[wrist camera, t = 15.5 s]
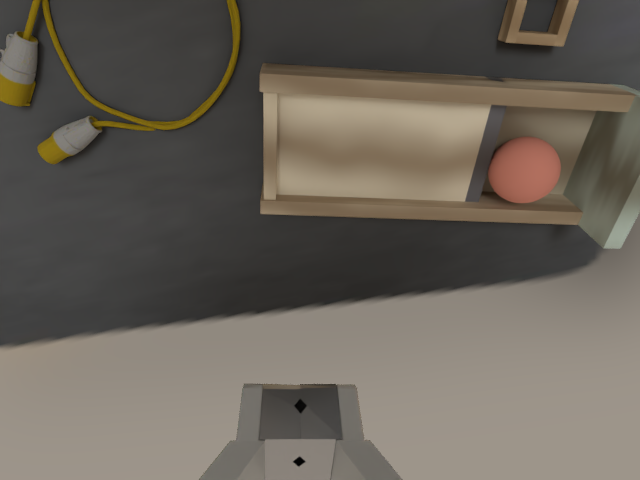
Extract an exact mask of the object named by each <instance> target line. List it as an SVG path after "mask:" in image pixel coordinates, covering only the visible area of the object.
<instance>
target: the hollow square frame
mask: <svg viewBox="0 0 640 480" xmlns="http://www.w3.org/2000/svg"><path fill="white" fill-rule="evenodd" d="M578 2H579V0H557V4H556V7H555V10H554V13H553V16H552V19H551V23H550V26H549V29H548V32H538V31H524V30H519V28H520V25H521V21H522V18H523V14H524V11H525V7H526V4H527V0H508V2H507V6H506V10H505V13H504V17H503V21H502V25H501V29H500V33H499V36H498V40H500V41H503V42H505V43H519V44H533V45H548V46H564V43H565V40H566V37H567V34H568V31H569V28H570V25H571V22H572V20H573V17H574V14H575V11H576V8H577V5H578Z"/></svg>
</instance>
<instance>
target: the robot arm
mask: <svg viewBox="0 0 640 480" xmlns="http://www.w3.org/2000/svg"><path fill="white" fill-rule="evenodd" d="M199 480H402V479H401V477H400V476H399V475H398V474H397V473H396V471H395V470H394V469H393V468H392V466H391V465H390V464H389V463H388V462H387V460H385V458H384V457H383V456H382V454H381V453H380V452H379V451H378V449H377V448H376V447H375V446H374V445H373V444H372V442H371V441H370V440H364V435H363V429H362V421H361V414H360V408H359V401H358V395H357V388H356V386H355V385H336V384H304V385H303V384H300V385H278V384H244V386H243V389H242V397H241V406H240V413H239V421H238V429H237V438H236V441H230V442H229V443H228V444H227V446H226V447H225V448H224V449H223V450H222V452H221V453H220V454H219V455H218V457H217V458H216V459H215V460H214V462H213V463H212V464H211V465H210V466H209V468H208V469H207V470H206V471H205V473H204V474H203V475H202V476H201V478H200V479H199Z"/></svg>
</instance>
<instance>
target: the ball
mask: <svg viewBox="0 0 640 480" xmlns="http://www.w3.org/2000/svg"><path fill="white" fill-rule="evenodd" d="M560 172H561V163H560V159H559V156H558V154H557V152H556V151H555V149H554V148H553V147H552V146H551V145H550V144H549V143H547V142H545V141H544V140H541V139H539V138H535V137H518V138H515V139H512V140H509V141H508V142H506V143H504V144H503V145H501V146H500V147H499V148H498V149H497V150H496V151H495V153H494V154H493V156H492V158H491V162H490V165H489V168H488V178H489V182H490V184H491V186H492V188H493V189H494V191H495V192H496V193H497V194H498V195H499V196H500V197H502V198H504V199H505V200H508V201H510V202H514V203H530V202H534V201H537V200H539V199H541V198H543V197H545V196H546V195H547V194H548V193H550V192H551V191H552V189H553V188H554V187H555V185H556V184H557V182H558V179H559V177H560Z"/></svg>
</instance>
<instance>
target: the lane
mask: <svg viewBox="0 0 640 480" xmlns="http://www.w3.org/2000/svg"><path fill="white" fill-rule="evenodd" d="M260 92H263V110H264V181H263V186H262V193H261V200H260V207H261V214H277V215H306V216H335V217H364V218H393V219H422V220H451V221H480V222H509V223H538V224H568V225H579V226H580V227H581V228H582V229H583V230H584V231H585V232H586V233H587V234H588V235H590V236H591V237H592V238H593V239H594V240H595V241H596V242H597V243H598V244H599V245H600V246H601V247H602V248H613V249H621V247H622V245H623V243H624V241H625V239H626V237H627V235H628V233H629V232H630V230H631V228H632V226H633V224H634V222H635V220H636V218H637V216H638V214H639V212H640V91H637V90H635V89H632V88H629V87H627V86H624V85H615V84H598V83H582V82H566V81H549V80H533V79H516V78H500V77H484V76H467V75H451V74H435V73H418V72H402V71H385V70H369V69H353V68H336V67H320V66H304V65H287V64H271V63H263V64H262V67H261V71H260ZM518 137H535V138H539V139H541V140H544V141H545V142H547V143H549V144H550V145H551V146H552V147H553V148H554V149H555V151H556V152H557V154H558V156H559V159H560V163H561V172H560V177H559V179H558V182H557V184H556V185H555V187H554V188H553V189H552V191H551V192H550V193H548V194H547V195H546V196H545V197H543V198H541V199H539V200H537V201H534V202H530V203H514V202H510V201H508V200H505V199H504V198H502V197H500V196H499V195H498V194H497V193H496V192H495V191H494V189H493V188H492V186H491V184H490V182H489V178H488V168H489V165H490V162H491V158H492V156H493V154H494V153H495V151H496V150H497V149H498V148H499V147H500V146H501V145H503V144H504V143H506V142H508V141H509V140H512V139H515V138H518Z"/></svg>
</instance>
